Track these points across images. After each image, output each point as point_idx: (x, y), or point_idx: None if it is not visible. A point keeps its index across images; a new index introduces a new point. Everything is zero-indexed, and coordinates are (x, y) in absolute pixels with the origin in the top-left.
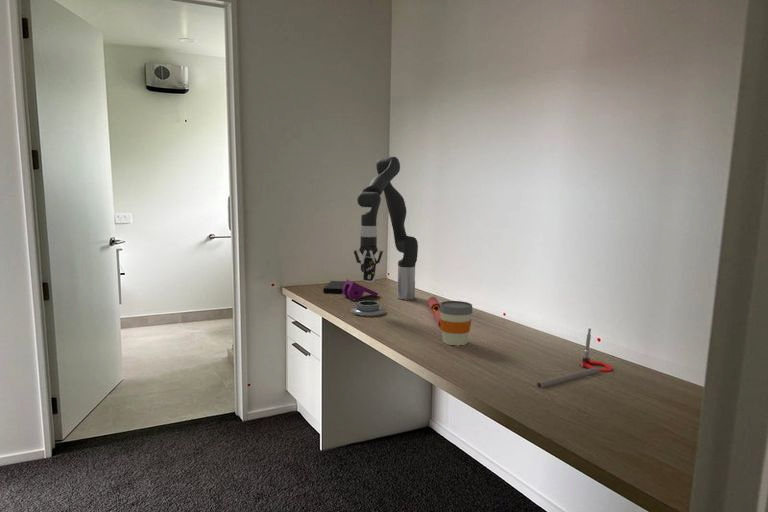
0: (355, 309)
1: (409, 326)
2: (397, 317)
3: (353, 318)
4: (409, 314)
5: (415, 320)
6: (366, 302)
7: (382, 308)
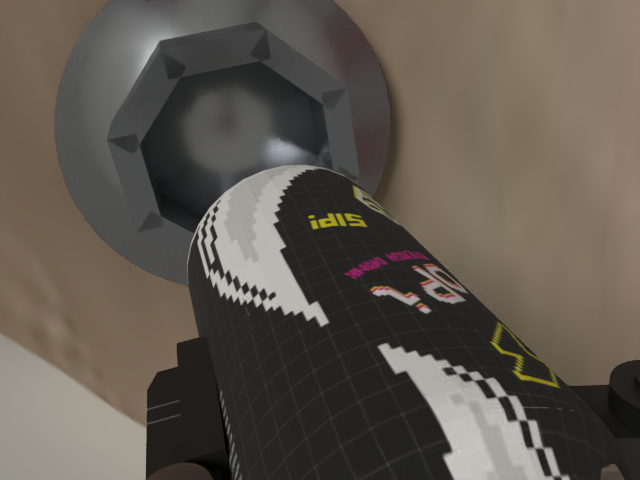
0: (114, 185)
1: (560, 378)
2: (487, 207)
3: (174, 349)
4: (574, 84)
5: (603, 241)
6: (192, 71)
7: (356, 59)
